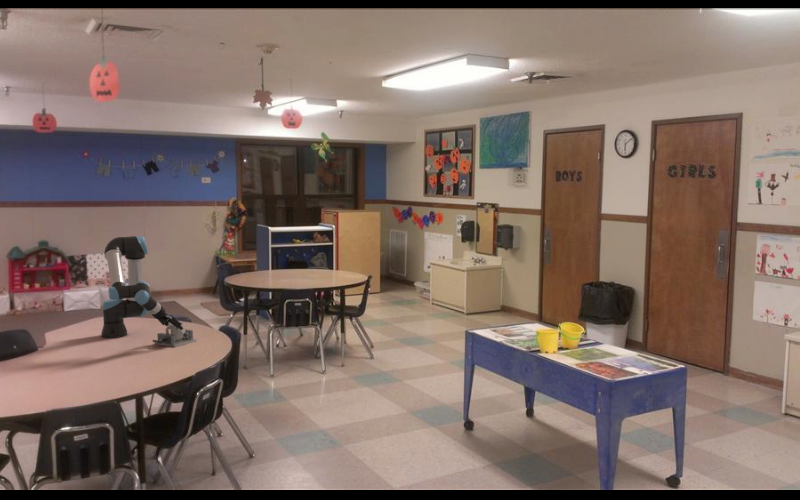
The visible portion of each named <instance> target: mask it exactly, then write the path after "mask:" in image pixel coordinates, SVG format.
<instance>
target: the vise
mask: <svg viewBox="0 0 800 500" xmlns="http://www.w3.org/2000/svg"><path fill="white" fill-rule="evenodd" d="M184 329H185V330H186V331H185V333H184V334H183V338H182V339H177V340H175V336H174V335H171V333H169V334H166V332H165V333H163V332H158V333H156V334H157V340H156V339H152V342H153V343H154V344H155V345H160V346H164V347H165V346H166V347H170V348H178V347H181V346H185V345H188V343H189V344H193V343H196V342H197V341H198V340H197V338H194V336H193V335H194V332H193V330H192V329H186V328H184Z"/></svg>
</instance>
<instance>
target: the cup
mask: <svg viewBox="0 0 800 500" xmlns="http://www.w3.org/2000/svg"><path fill="white" fill-rule="evenodd" d="M180 323H181V326H182V327H183V328H184V323H183V322H180ZM176 328H177V327H175V326H174V325H172V324H170V326H168V327H167V326H166V328H165V334H171V335H174V336H175V340H177V339H182V338H183V334H182V333H181V332H180V331H179V330H178V329H176ZM170 329H171V330H170ZM169 332H170V333H169Z"/></svg>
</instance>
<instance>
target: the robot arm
mask: <svg viewBox="0 0 800 500" xmlns="http://www.w3.org/2000/svg"><path fill="white" fill-rule="evenodd" d="M103 253H104V258H105V260H106V261H107V268H108V273H109V274H108V275H109V280H110V284H111V286H109V287H108V298H109V299H107V300H105V301H104V302H103V303H102V316H103V325H102V326H103V327H102V330H101V337H102V338H106V339H114V338H115V339H116V338H120V337H124V336H127V335H128V329H127V327H126V324H125V322H124V320H125V319H129V318H139V317H140V318H141V317H145V316H146V315H147V314H150V315H151V316H152V317H153V318H155V319H156V320H157V321H158V322H159V323H161V325H162V326H165V327H166V328H167V327H168V326H170V324H172V325H174V326H175V327H177V328H176V329H178V330H179V331H180V332H181V333H182V334H184V333H185V331H186V330H185V329H186V328H184V326H183V327H182V326H181V323H182V322H180V321H179V320H177V319H176V318H175V317H174V316H173V315H172V314H170V315H169V314H168V313H167V312H166V309H165V307H164V306H163V305H161V304H160V302H158V300H156V299H155V298H154V297H153V296H152V293H151V289H150V288H151V287H150V285H149V284H148V283H147V282H146V281H144V278H143V275H144V274H143V273H144V272H143V271H144V270H143V268H144V267H143V260H144V259H145V257H146V255H147V254H148V247H147V241H146V239H145V237H144V236H143V235H141V236H139V235H134V236H133V235H131V236H119V237H118V236H117V237H114V238H112V239H111V240H110V241H108V243H107V244H106V246H105V248H104V252H103ZM123 256H124V259H126V260H127V278H128V279H127V280H128V285H126V281H125V274H124V269H123V268H124V267H123V265H122V257H123ZM169 331H171V329H169Z"/></svg>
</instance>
